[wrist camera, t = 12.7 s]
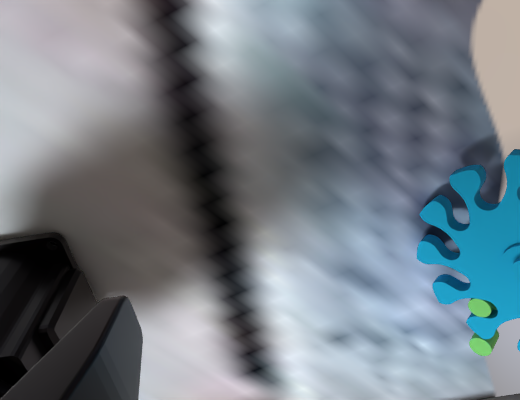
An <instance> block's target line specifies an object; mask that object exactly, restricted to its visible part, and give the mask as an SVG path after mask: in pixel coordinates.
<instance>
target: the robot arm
mask: <svg viewBox="0 0 520 400" xmlns="http://www.w3.org/2000/svg"><path fill="white" fill-rule="evenodd" d="M50 242H55V243H56V244H57V245H53V244H51V243H50ZM142 344H143V337H142V330H141V327H140V325H139V322H138V320H137V317H136V314H135V312H134V309H133V307H132V304H131V302H130V300H129V299H128V298H127V297H126V296H118V297H111V298H106V299H103V300H101V301H100V302H99V303H98V304H97V303H96V300H95V298H94V296H93V294H92V292H91V289H90V287H89V285H88V283H87V280H86V278H85V276H84V274H83V272H82V271H81V270H80V269H79V268H78V267H77V264H76V262H75V260H74V258H73V256H72V253H71V251H70V249H69V247H68V245H67V242H66V240H65V239H64V237H63V236H62V235H60V234H58V233H46V234H40V235H33V236H27V237H21V238H14V239H8V240H1V241H0V400H138V396H139V383H140V370H141V357H142Z"/></svg>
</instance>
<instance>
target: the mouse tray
mask: <svg viewBox="0 0 520 400" xmlns="http://www.w3.org/2000/svg"><path fill="white" fill-rule="evenodd" d="M480 400H520V394H514V395H507V396H501V397H494V398H487V399H480Z"/></svg>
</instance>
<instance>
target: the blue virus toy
mask: <svg viewBox="0 0 520 400" xmlns="http://www.w3.org/2000/svg"><path fill="white" fill-rule="evenodd" d="M504 170H505V173H506V177H507V189H506V193H505V195H504V197H503V199H502V201H501V202H500V203H497V204H490V203H487V202H485V201H484V200H483V199H482V198H481V196H480V189H481V187H482V185H483V184H484V182H485V180H486V172H485V169H484V168H483V167H482V166H481V165H470V166H466V167H463V168H461V169H458V170H456V171H455V172H454V173H453V174H452V175H450V184H451V186H452V187H453V189H454V190H455V191H457V192H458V193H459V194H460V196H461V197H462V198H463V200H464V201H465V203H466V205H467V208H468V212H469V219H470V224H461V223H459V222H458V221H456V219H455V218H454V216H453V210H452V204H451V202H450V201H449V199H447V198H446V197H445V196H443V195H439V196H437V197H435V198H434V199H433V200H432V201H431V202H430V203H428V204H427V205H426V206H425V207H424V209H423V210H422V211H421V213H420V216H421V218H422V219H423V220H424V221H425V222H426V223H428V224H431V225H434V226H436V227H438V228H440V229H441V230H443V231H444V232H446V233H447V234H448V235H449V236H450V237H451V238H452V239H453V241H454V242H455V243H456V245H457V246H458V247H459V249H460V253H455V252H452V251H450V250H449V249H448V248H447V247H446V246H445V244H444V243H443V242H442V240H441V239H440V238H438V237H437V236H435V235H430V234H429V235H426V236H425V237H424V238H423V239H422V240H421V242H420V243H419V245H418V249H417V259H418V260H419V261H421V262H422V263H425V264H441V265H445V266H448V267H451V268H453V269H455V270H457V271H458V272H460V273H462V274H463V275H465V276H466V277H467V278H468V279H469V281H470V283H464V282H462V281H460V280H458V279H456V278H455V277H453V276H451V275H447V274H443V275H440V276H438V278H437V279H436V280H435V281H434V283H433V290H434V293H435V295H436V297H437V299H438V301H439V302H440V303H442V304H451V303H453V302H455V301H457V300H459V299H464V298H471V300H470V301H469V303H468V307H469V309H470V311H471V312H472V313H471V315H470V316H469V318H468V320H467V322H466V323H467V324H468V326H469V327H470V328H471V329H472V330H473V331H474V332H475V333H474V335H473V337H472V338H471V340H470V343H469V344H470V347H471V349H472V350H473V351H474V352H475V353H477V354H479V355H482V356H487V355H490V353H491V352H492V350H493V348H494V346H495V344H496V342H497V339H498V337H499V333H498V331H497V328H498V327H499V325H501V324H502V323H504V322H506V321H509V320H512V319H516V318H520V150H519V149H514V150H513V151H512V152H511V153H510V155H509V156H508V157H507V158H506V160H505V162H504ZM518 350H519V351H520V340H519V342H518Z"/></svg>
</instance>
